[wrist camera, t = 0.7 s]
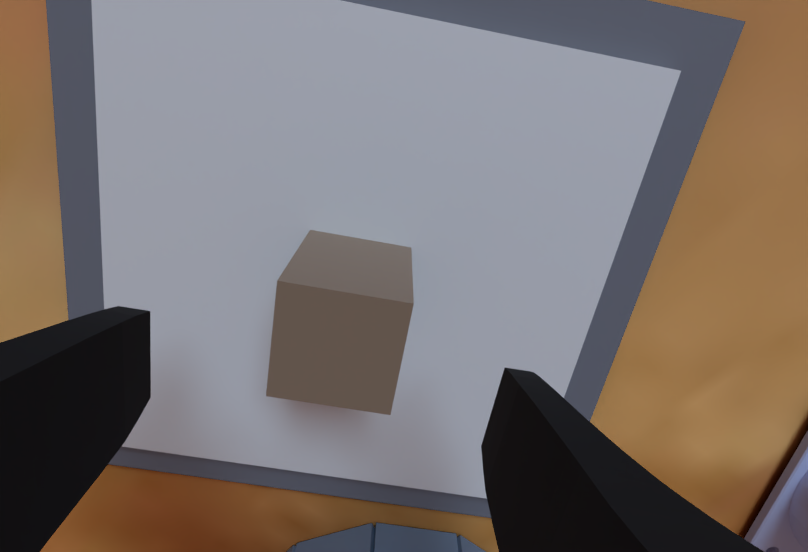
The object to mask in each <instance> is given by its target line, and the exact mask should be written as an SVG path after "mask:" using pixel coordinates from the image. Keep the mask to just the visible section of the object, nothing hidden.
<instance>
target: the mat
mask: <svg viewBox="0 0 808 552" xmlns="http://www.w3.org/2000/svg"><path fill="white" fill-rule="evenodd" d="M342 1H347V2H351V3H356V4H361V5H366V6H371V7H376V8H380V9H385V10H390V11H395V12H400V13H405V14H409V15H414V16H419V17H424V18H429V19H434V20H438V21H443V22H448V23H453V24H458V25H462V26H467V27H472V28H477V29H482V30H487V31H491V32H496V33H501V34H506V35H511V36H516V37H520V38H525V39H530V40H535V41H540V42H545V43H549V44H554V45H559V46H564V47H569V48H574V49H578V50H583V51H588V52H593V53H598V54H603V55H607V56H612V57H617V58H622V59H627V60H632V61H636V62H641V63H646V64H651V65H656V66H661V67H665V68H670V69H675V70H680V71H681V73H680V76H679V79H678V81H677V84H676V87H675V90H674V93H673V95H672V98H671V101H670V104H669V106H668V109H667V112H666V115H665V118H664V120H663V123H662V126H661V129H660V132H659V134H658V137H657V140H656V143H655V145H654V148H653V151H652V154H651V157H650V159H649V162H648V165H647V168H646V171H645V173H644V176H643V179H642V182H641V184H640V187H639V190H638V193H637V196H636V198H635V201H634V204H633V207H632V210H631V212H630V215H629V218H628V221H627V224H626V226H625V229H624V232H623V235H622V237H621V240H620V243H619V246H618V249H617V251H616V254H615V257H614V260H613V263H612V265H611V268H610V271H609V274H608V276H607V279H606V282H605V285H604V288H603V290H602V293H601V296H600V299H599V302H598V304H597V307H596V310H595V313H594V315H593V318H592V321H591V324H590V327H589V329H588V332H587V335H586V338H585V341H584V343H583V346H582V349H581V352H580V354H579V357H578V360H577V363H576V366H575V368H574V371H573V374H572V377H571V380H570V382H569V385H568V388H567V391H566V393H565V396H564V399H565V400H566V401H567V402H569V403H570V404H571V405H572V406H573V407H574V408H575V409H576V410H577V411H578V412H579V413H581V414H582V415H583V416H584V417H585V418H586V419H587V420H588V421H589V422H590V419H591V417H592V414H593V411H594V409H595V406H596V404H597V401H598V399H599V396H600V393H601V391H602V388H603V386H604V383H605V381H606V378H607V375H608V373H609V370H610V368H611V365H612V363H613V360H614V357H615V355H616V352H617V350H618V347H619V345H620V342H621V340H622V337H623V334H624V332H625V329H626V327H627V324H628V322H629V319H630V316H631V314H632V311H633V309H634V306H635V304H636V301H637V298H638V296H639V293H640V291H641V288H642V286H643V283H644V280H645V278H646V275H647V273H648V270H649V268H650V265H651V262H652V260H653V257H654V255H655V252H656V250H657V247H658V245H659V242H660V239H661V237H662V234H663V232H664V229H665V227H666V224H667V221H668V219H669V216H670V214H671V211H672V209H673V206H674V203H675V201H676V198H677V196H678V193H679V191H680V188H681V185H682V183H683V180H684V178H685V175H686V173H687V170H688V168H689V165H690V162H691V160H692V157H693V155H694V152H695V150H696V147H697V144H698V142H699V139H700V137H701V134H702V132H703V129H704V126H705V124H706V121H707V119H708V116H709V114H710V111H711V108H712V106H713V103H714V101H715V98H716V96H717V93H718V90H719V88H720V85H721V83H722V80H723V78H724V75H725V73H726V70H727V67H728V65H729V62H730V60H731V57H732V55H733V52H734V49H735V47H736V44H737V42H738V39H739V37H740V34H741V31H742V29H743V26H744V24H745V21H740V20H735V19H731V18H726V17H721V16H717V15H712V14H708V13H703V12H698V11H694V10H689V9H684V8H680V7H675V6H670V5H666V4H661V3H657V2H652V1H647V0H342ZM46 7H47V22H48V36H49V50H50V64H51V78H52V92H53V106H54V120H55V134H56V148H57V162H58V176H59V190H60V205H61V219H62V233H63V247H64V261H65V275H66V289H67V303H68V317H69V320H71V319H74V318H77V317H80V316H84V315H87V314H90V313H93V312H97V311H100V310H104V293H103V269H102V245H101V221H100V197H99V173H98V149H97V125H96V101H95V77H94V53H93V29H92V4H91V0H46ZM108 464H111V465H118V466H125V467H132V468H139V469H147V470H154V471H161V472H168V473H175V474H182V475H189V476H196V477H204V478H211V479H218V480H225V481H232V482H239V483H246V484H253V485H260V486H268V487H275V488H282V489H289V490H296V491H303V492H310V493H317V494H325V495H332V496H339V497H346V498H353V499H360V500H367V501H374V502H382V503H389V504H396V505H403V506H410V507H417V508H424V509H431V510H439V511H446V512H453V513H460V514H467V515H474V516H481V517H488V518H491V514H490V510H489V506H488V501H487V499H486V498H479V497H472V496H465V495H458V494H451V493H444V492H437V491H430V490H423V489H416V488H409V487H402V486H395V485H388V484H381V483H374V482H367V481H360V480H353V479H346V478H339V477H332V476H325V475H318V474H311V473H304V472H297V471H290V470H283V469H276V468H269V467H262V466H255V465H248V464H241V463H234V462H227V461H220V460H213V459H206V458H199V457H192V456H185V455H178V454H171V453H164V452H157V451H150V450H143V449H136V448H129V447H122V446H121V448H120V449H119V450H118V452H117V453H116V454H115V456H114V457H113V458H112V459H111V461H110V462H109V463H108Z"/></svg>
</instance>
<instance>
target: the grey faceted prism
mask: <svg viewBox="0 0 808 552" xmlns="http://www.w3.org/2000/svg"><path fill="white" fill-rule="evenodd" d="M287 552H485V551H484V550H482V549H481V548H479V547H478V546H476V545H475V544H473V543H471V542H470V541H468V540H467V539H465V538H464V537H462V536H461V535H460V536H458V537H457V536H456V534H455V533H448V532H440V531H433V530H426V529H418V528H411V527H404V526H397V525H389V524H382V523H376V526H375V528H374V526H373V524H372V523H370V524H366V525H362V526H359V527H355V528H351V529H347V530H344V531H340V532H336V533H333V534H329V535H325V536H321V537H318V538H314V539H310V540H307V541H303V542H299V543H297V545H296V546H295V545H293V546H292V547H291V548H290V549H289V550H288V551H287Z"/></svg>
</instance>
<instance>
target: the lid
mask: <svg viewBox="0 0 808 552" xmlns="http://www.w3.org/2000/svg"><path fill="white" fill-rule="evenodd" d="M91 4H92V29H93V53H94V77H95V101H96V125H97V149H98V173H99V197H100V221H101V245H102V269H103V293H104V309H108V308H112V307H117V306H122V307H128V308H134V309H140V310H147V311H150V358H151V398H150V400H149V401H148V403H147V405H146V407H145V409H144V410H143V412H142V414H141V416H140V417H139V419H138V421H137V423H136V424H135V426H134V428H133V429H132V431H131V433H130V434H129V436H128V438H127V439H126V441H125V442H124V444H123V445H122V447H129V448H136V449H143V450H150V451H157V452H164V453H171V454H178V455H185V456H192V457H199V458H206V459H213V460H220V461H227V462H234V463H241V464H248V465H255V466H262V467H269V468H276V469H283V470H290V471H297V472H304V473H311V474H318V475H325V476H332V477H339V478H346V479H353V480H360V481H367V482H374V483H381V484H388V485H395V486H402V487H409V488H416V489H423V490H430V491H437V492H444V493H451V494H458V495H465V496H472V497H479V498H486V499H487V496H486V492H485V483H484V474H483V463H482V451H481V445H482V441H483V438H484V435H485V431H486V428H487V425H488V421H489V418H490V415H491V411H492V408H493V405H494V401H495V398H496V395H497V391H498V388H499V385H500V381H501V378H502V375H503V371H504V368H512V369H518V370H524V371H531V372H534V373H535V374H537V375H538V376H539V377H541V378H542V379H543V380H544V381H545V382H546V383H548V384H549V385H550V386H551V387H552V388H553V389H554V390H555V391H557V392H558V393H559V394H560V395H561V396H562V397H563V398H564V396H565V393H566V391H567V388H568V385H569V382H570V380H571V377H572V374H573V371H574V368H575V366H576V363H577V360H578V357H579V354H580V352H581V349H582V346H583V343H584V341H585V338H586V335H587V332H588V329H589V327H590V324H591V321H592V318H593V315H594V313H595V310H596V307H597V304H598V302H599V299H600V296H601V293H602V290H603V288H604V285H605V282H606V279H607V276H608V274H609V271H610V268H611V265H612V263H613V260H614V257H615V254H616V251H617V249H618V246H619V243H620V240H621V237H622V235H623V232H624V229H625V226H626V224H627V221H628V218H629V215H630V212H631V210H632V207H633V204H634V201H635V198H636V196H637V193H638V190H639V187H640V184H641V182H642V179H643V176H644V173H645V171H646V168H647V165H648V162H649V159H650V157H651V154H652V151H653V148H654V145H655V143H656V140H657V137H658V134H659V132H660V129H661V126H662V123H663V120H664V118H665V115H666V112H667V109H668V106H669V104H670V101H671V98H672V95H673V93H674V90H675V87H676V84H677V81H678V79H679V76H680V73H681V71H680V70H675V69H670V68H665V67H661V66H656V65H651V64H646V63H641V62H636V61H632V60H627V59H622V58H617V57H612V56H607V55H603V54H598V53H593V52H588V51H583V50H578V49H574V48H569V47H564V46H559V45H554V44H549V43H545V42H540V41H535V40H530V39H525V38H520V37H516V36H511V35H506V34H501V33H496V32H491V31H487V30H482V29H477V28H472V27H467V26H462V25H458V24H453V23H448V22H443V21H438V20H434V19H429V18H424V17H419V16H414V15H409V14H405V13H400V12H395V11H390V10H385V9H380V8H376V7H371V6H366V5H361V4H356V3H351V2H347V1H342V0H91Z"/></svg>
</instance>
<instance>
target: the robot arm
mask: <svg viewBox="0 0 808 552" xmlns="http://www.w3.org/2000/svg"><path fill="white" fill-rule="evenodd" d="M150 398H151V358H150V311H147V310H140V309H134V308H128V307H122V306H117V307H112V308H108V309H104V310H100V311H97V312H93V313H90V314H87V315H84V316H80V317H77V318H74V319H71V320H68V321H65V322H62V323H59V324H56V325H53V326H50V327H47V328H44V329H41V330H38V331H35V332H32V333H29V334H26V335H23V336H20V337H17V338H14V339H11V340H8V341H4V342H1V343H0V552H40V551H41V549H42V548H43V546H44V545H45V544H46V543H47V541H48V540H49V539H50V537H51V536H52V535H53V534H54V532H55V531H56V530H57V529H58V527H59V526H60V525H61V523H62V522H63V521H64V520H65V518H66V517H67V516H68V515H69V513H70V512H71V511H72V509H73V508H74V507H75V506H76V504H77V503H78V502H79V500H80V499H81V498H82V497H83V495H84V494H85V493H86V492H87V490H88V489H89V488H90V486H91V485H92V484H93V483H94V481H95V480H96V479H97V478H98V476H99V475H100V474H101V472H102V471H103V470H104V468H105V467H106V466H107V465H108V463H109V462H110V461H111V459H112V458H113V457H114V456H115V454H116V453H117V452H118V450H119V449H120V448H121V446H122V445H123V444H124V442H125V441H126V439H127V438H128V436H129V434H130V433H131V431H132V429H133V428H134V426H135V424H136V423H137V421H138V419H139V417H140V416H141V414H142V412H143V410H144V409H145V407H146V405H147V403H148V401H149V400H150ZM481 451H482V463H483V474H484V483H485V492H486V496H487V501H488V506H489V510H490V514H491V519H492V523H493V528H494V532H495V536H496V540H497V545H498V549H499V552H808V431H807V432H806V434H805V436H804V438H803V439H802V441H801V443H800V444H799V446H798V448H797V449H796V451H795V453H794V454H793V456H792V458H791V460H790V461H789V463H788V465H787V466H786V468H785V470H784V471H783V473H782V475H781V477H780V478H779V480H778V482H777V483H776V485H775V487H774V488H773V490H772V492H771V493H770V495H769V497H768V499H767V500H766V502H765V504H764V505H763V507H762V509H761V510H760V512H759V514H758V516H757V517H756V519H755V521H754V522H753V524H752V526H751V527H750V529H749V531H748V532H747V534H746V536H745V538H744V539H743V538H742V537H740V536H738V535H737V534H735V533H734V532H732V531H731V530H729V529H728V528H726V527H725V526H723V525H721V524H720V523H718V522H717V521H715V520H714V519H712V518H711V517H709V516H708V515H707V514H705V513H704V512H702V511H701V510H700V509H698V508H697V507H695V506H694V505H693V504H691V503H690V502H688V501H687V500H686V499H684V498H683V497H681V496H680V495H679V494H677V493H676V492H674V491H673V490H672V489H670V488H669V487H668V486H666V485H665V484H664V483H662V482H661V481H660V480H658V479H657V478H656V477H654V476H653V475H652V474H651V473H649V472H648V471H647V470H646V469H644V468H643V467H642V466H641V465H640V464H638V463H637V462H636V461H635V460H633V459H632V458H631V457H630V456H628V455H627V454H626V453H625V452H624V451H622V450H621V449H620V448H619V447H618V446H617V445H615V444H614V443H613V442H612V441H611V440H610V439H608V438H607V437H606V436H605V435H604V434H603V433H602V432H600V431H599V430H598V429H597V428H596V427H595V426H594V425H593V424H592V423H590V422H589V421H588V420H587V419H586V418H585V417H584V416H583V415H582V414H581V413H579V412H578V411H577V410H576V409H575V408H574V407H573V406H572V405H571V404H570V403H569V402H567V401H566V400H565V399H564V398H563V397H562V396H561V395H560V394H559V393H558V392H557V391H555V390H554V389H553V388H552V387H551V386H550V385H549V384H548V383H546V382H545V381H544V380H543V379H542V378H541V377H539V376H538V375H537V374H535V373H534V372H531V371H524V370H518V369H512V368H504V371H503V375H502V378H501V381H500V385H499V388H498V391H497V395H496V398H495V401H494V405H493V408H492V411H491V415H490V418H489V421H488V425H487V428H486V431H485V435H484V438H483V441H482V445H481Z"/></svg>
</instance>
